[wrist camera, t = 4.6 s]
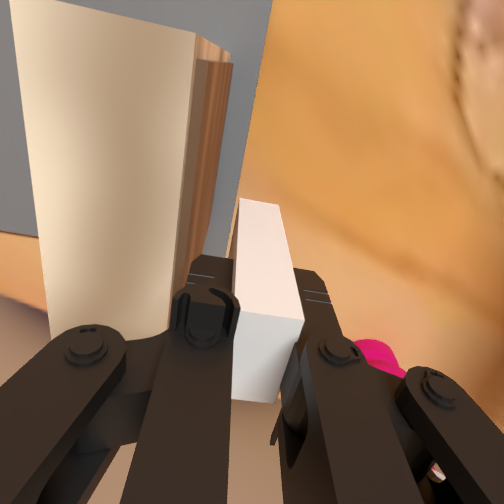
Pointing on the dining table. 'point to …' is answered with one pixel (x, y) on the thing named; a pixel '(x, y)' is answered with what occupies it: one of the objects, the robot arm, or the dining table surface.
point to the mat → (167, 14)
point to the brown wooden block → (118, 159)
